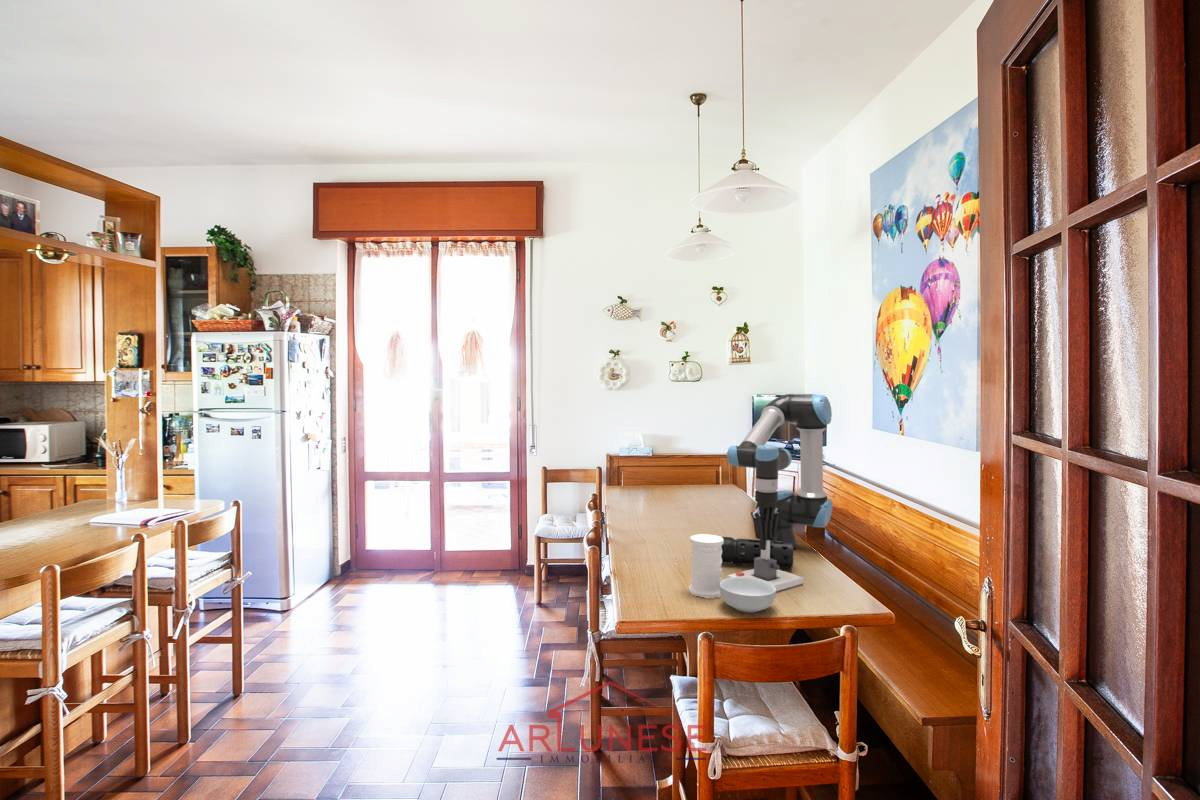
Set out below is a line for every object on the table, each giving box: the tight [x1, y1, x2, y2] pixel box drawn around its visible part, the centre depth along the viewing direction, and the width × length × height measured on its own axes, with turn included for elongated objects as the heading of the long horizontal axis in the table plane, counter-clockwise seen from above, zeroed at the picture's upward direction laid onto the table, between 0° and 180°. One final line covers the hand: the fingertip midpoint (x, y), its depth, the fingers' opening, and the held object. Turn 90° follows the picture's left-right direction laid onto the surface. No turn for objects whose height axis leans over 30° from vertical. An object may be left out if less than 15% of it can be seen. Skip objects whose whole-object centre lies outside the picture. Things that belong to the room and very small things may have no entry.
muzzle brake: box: [721, 536, 794, 570], centre depth 228 cm, size 10×28×10 cm, turn 76°
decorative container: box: [688, 533, 724, 599], centre depth 199 cm, size 12×12×18 cm
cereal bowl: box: [720, 577, 777, 614], centre depth 186 cm, size 17×17×7 cm
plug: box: [753, 557, 781, 581], centre depth 207 cm, size 8×4×8 cm, turn 36°
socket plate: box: [727, 568, 804, 594], centre depth 208 cm, size 20×16×3 cm
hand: (765, 558), depth 208 cm, fingers closed
